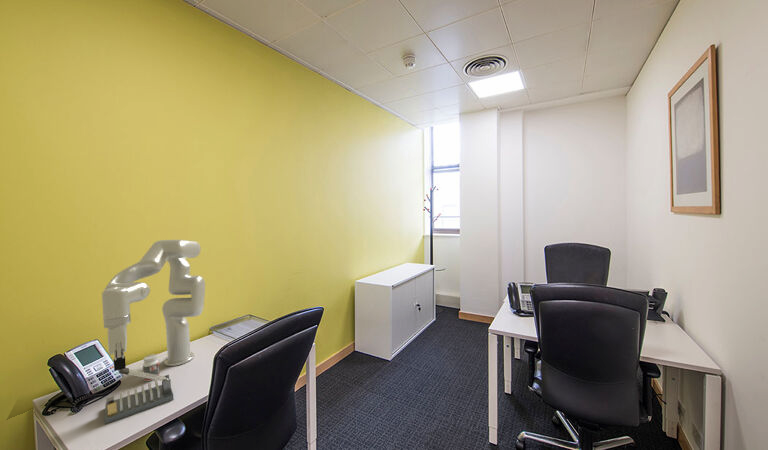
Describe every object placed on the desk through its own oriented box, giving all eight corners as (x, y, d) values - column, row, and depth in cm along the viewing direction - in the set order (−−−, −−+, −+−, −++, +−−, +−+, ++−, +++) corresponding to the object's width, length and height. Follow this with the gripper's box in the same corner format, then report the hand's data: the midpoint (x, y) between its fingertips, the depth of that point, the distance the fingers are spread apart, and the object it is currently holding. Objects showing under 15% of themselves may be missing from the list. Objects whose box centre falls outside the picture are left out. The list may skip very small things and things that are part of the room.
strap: (166, 378, 125) (168, 376, 125) (167, 382, 122) (169, 380, 122) (118, 369, 114) (120, 366, 115) (118, 373, 111) (120, 370, 112)
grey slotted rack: (105, 408, 115) (104, 390, 115) (169, 386, 129) (168, 371, 128) (105, 424, 106) (103, 405, 106) (173, 399, 120) (172, 382, 119)
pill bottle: (161, 376, 137) (160, 355, 136) (147, 383, 132) (145, 361, 131) (155, 373, 140) (154, 352, 139) (141, 379, 135) (139, 358, 134)
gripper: (104, 318, 115) (106, 365, 116) (103, 329, 104) (106, 380, 105) (129, 313, 120) (132, 358, 121) (131, 323, 109) (133, 372, 110)
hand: (120, 368), depth 113 cm, fingers closed
